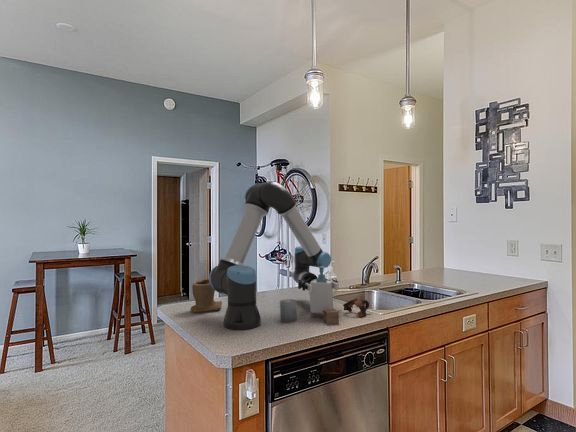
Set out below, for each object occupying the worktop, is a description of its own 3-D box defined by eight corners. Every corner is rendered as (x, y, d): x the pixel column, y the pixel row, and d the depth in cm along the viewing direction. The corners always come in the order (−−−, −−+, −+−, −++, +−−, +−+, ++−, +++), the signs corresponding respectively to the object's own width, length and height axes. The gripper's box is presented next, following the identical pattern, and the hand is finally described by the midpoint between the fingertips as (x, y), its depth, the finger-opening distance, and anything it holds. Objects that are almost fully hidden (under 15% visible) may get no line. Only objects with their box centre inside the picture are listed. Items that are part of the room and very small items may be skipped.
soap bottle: (333, 308, 160) (332, 265, 160) (330, 313, 151) (329, 268, 152) (314, 307, 162) (313, 265, 162) (310, 312, 154) (309, 267, 154)
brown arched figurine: (355, 320, 151) (346, 302, 154) (346, 324, 159) (337, 307, 162) (377, 309, 156) (367, 292, 159) (367, 314, 164) (358, 297, 167)
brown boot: (191, 315, 161) (191, 282, 161) (189, 309, 172) (189, 278, 172) (225, 312, 166) (225, 280, 166) (221, 306, 177) (220, 276, 178)
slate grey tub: (287, 323, 147) (287, 303, 147) (276, 319, 153) (276, 301, 153) (300, 319, 152) (299, 301, 152) (289, 316, 157) (289, 298, 157)
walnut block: (322, 321, 149) (322, 309, 149) (334, 320, 150) (333, 308, 150) (327, 324, 144) (327, 312, 144) (338, 323, 146) (338, 311, 146)
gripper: (331, 286, 177) (350, 294, 156) (284, 289, 171) (298, 298, 150) (331, 271, 178) (350, 277, 157) (284, 273, 171) (298, 280, 150)
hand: (324, 287), depth 153 cm, fingers closed on soap bottle, 12 cm apart
